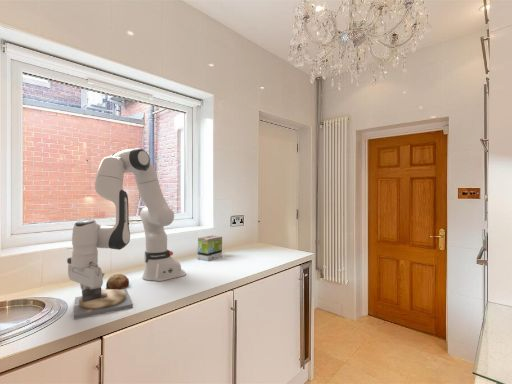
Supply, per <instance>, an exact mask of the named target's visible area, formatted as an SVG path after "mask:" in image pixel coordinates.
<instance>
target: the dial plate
mask: <svg viewBox="0 0 512 384" xmlns="http://www.w3.org/2000/svg"><path fill="white" fill-rule="evenodd" d="M122 290H123V291H125V292H126V298H125V299H124V300H123V301H122V302H120V303H118V304H116V305H113V306H109V307H105V308H98V309H86V308H82V307H80V306H79V299H80V298H81V297H82V296H75V298H74V308H73V309H74V310H73V320H78V319H83V318H88V317H94V316H98V315H105V314H108V313H113V312H119V311H123V310H128V309H133V306H134V304H133V302H132V299H131V296H130V294H129V292H128V289H127V288H123V289H122Z"/></svg>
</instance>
